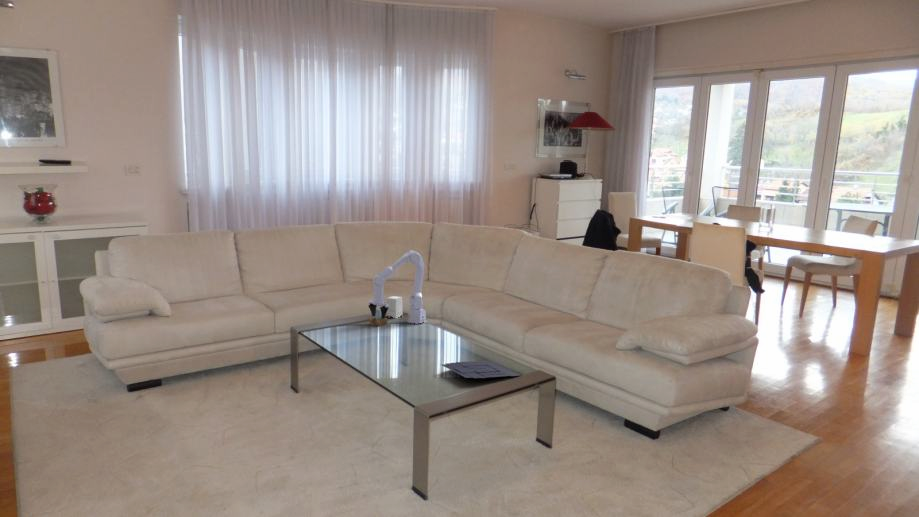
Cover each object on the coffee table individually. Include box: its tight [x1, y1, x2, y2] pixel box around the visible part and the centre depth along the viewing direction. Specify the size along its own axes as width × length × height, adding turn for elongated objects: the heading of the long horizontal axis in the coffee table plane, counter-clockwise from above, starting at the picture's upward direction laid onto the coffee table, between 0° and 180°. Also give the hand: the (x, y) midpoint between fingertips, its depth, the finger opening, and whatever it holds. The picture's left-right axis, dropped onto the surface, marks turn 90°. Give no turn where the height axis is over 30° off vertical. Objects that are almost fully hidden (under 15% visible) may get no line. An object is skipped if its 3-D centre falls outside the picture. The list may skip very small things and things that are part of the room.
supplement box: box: [386, 295, 403, 319], centre depth 370 cm, size 7×7×13 cm
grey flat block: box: [441, 360, 520, 379], centre depth 267 cm, size 24×30×4 cm
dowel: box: [375, 308, 381, 320], centre depth 350 cm, size 3×3×9 cm
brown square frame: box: [368, 316, 388, 327], centre depth 350 cm, size 8×8×4 cm
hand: (378, 317), depth 350 cm, fingers open, 7 cm apart
